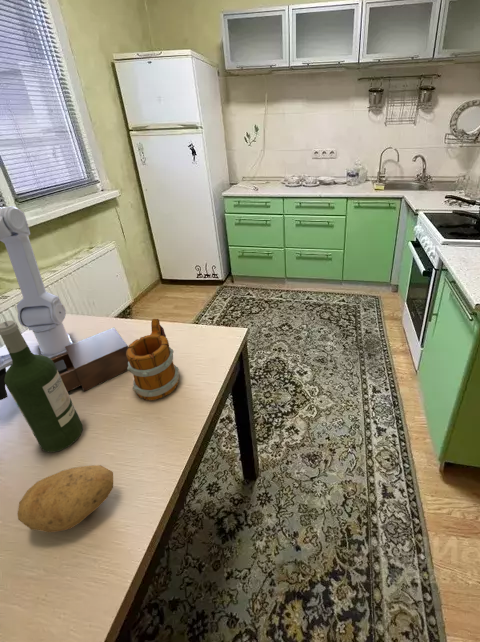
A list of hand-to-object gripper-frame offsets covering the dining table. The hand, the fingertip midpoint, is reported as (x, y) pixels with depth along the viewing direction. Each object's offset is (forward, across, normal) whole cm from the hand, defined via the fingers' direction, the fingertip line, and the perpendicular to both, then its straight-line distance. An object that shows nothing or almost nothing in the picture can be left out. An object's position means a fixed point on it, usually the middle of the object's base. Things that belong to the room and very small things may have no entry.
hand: (3, 396), depth 76 cm
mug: (+5, +31, -15) cm, 35 cm away
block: (0, +13, 0) cm, 13 cm away
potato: (+5, +7, -36) cm, 37 cm away
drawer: (+4, +10, 0) cm, 11 cm away
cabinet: (+5, +21, 0) cm, 21 cm away
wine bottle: (+5, +8, -17) cm, 19 cm away
